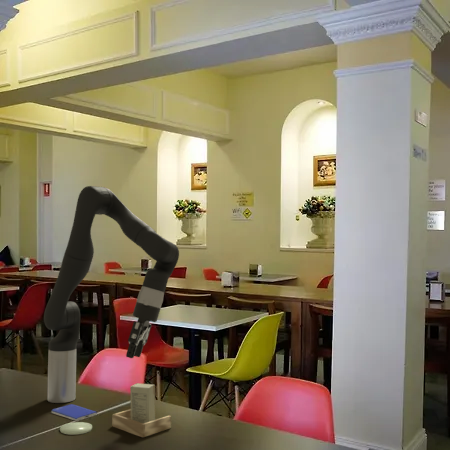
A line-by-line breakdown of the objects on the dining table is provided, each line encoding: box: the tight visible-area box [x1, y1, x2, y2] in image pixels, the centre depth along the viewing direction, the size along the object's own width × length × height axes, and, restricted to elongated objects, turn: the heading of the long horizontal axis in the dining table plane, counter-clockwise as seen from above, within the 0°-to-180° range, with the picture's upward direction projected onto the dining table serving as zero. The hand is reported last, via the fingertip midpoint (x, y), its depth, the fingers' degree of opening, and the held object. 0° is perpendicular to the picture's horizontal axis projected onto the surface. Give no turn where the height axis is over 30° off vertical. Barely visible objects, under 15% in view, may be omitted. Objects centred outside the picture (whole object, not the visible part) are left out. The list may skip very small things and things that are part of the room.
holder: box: [111, 408, 172, 438], centre depth 165 cm, size 11×14×4 cm
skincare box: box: [130, 382, 156, 423], centre depth 165 cm, size 6×4×12 cm
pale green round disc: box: [59, 421, 93, 436], centre depth 162 cm, size 9×9×1 cm
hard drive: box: [51, 403, 98, 422], centre depth 176 cm, size 2×8×12 cm
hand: (132, 357), depth 166 cm, fingers open, 8 cm apart
